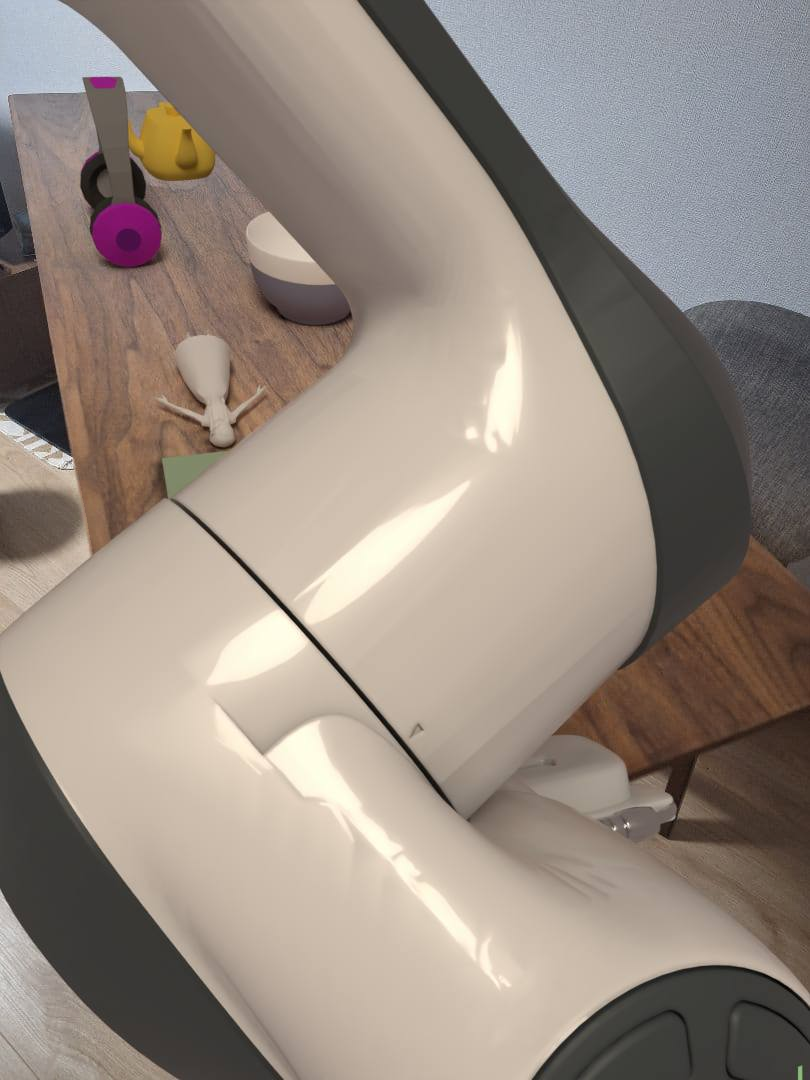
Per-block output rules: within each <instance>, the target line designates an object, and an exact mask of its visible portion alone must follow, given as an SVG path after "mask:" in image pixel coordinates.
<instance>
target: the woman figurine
mask: <svg viewBox="0 0 810 1080" xmlns="http://www.w3.org/2000/svg"><path fill="white" fill-rule="evenodd" d="M184 338H185V339H184V340H182V341H181V342H179V343H178V344H177V347H176V349H175V351H174V353H173V355H172V357H173V360H174V362H175V365H176V367H177V369H178V371H179V373H180V376H181V377H182V379H183V382H184V383H185V384H186V386H187V387H188V389H189V390H190V391H191V393H192V394H193V395H194V398H196V399H197V400H198V401H199V402H200V403H202V404H203V405H205V410H204V412H203V414H201V413H197V412H195V411H193V410H190V409H188V408H185V407H182V406H178V405H176V404H174V403H171V402H169V401H168V399H167V397H166V396H164V394H161V395H160V396H161V398H160V397H159V396H154V400H155V401H156V402H157V403H158V404H160V405H161V406H162V405H163V406H166V407H168V408H169V409H170V408H171V409H172V410H174V411H177V412H178V413H180V414H182V415H184V416H187V417H189V418H191V419H193V420H195V421H196V422H198V423H200V425H201V427H205V428H206V427H207V428H209V432H210V434H209V440H208V441H209V442H210V444H213V446H215V447H218V448H227V447H229V446H231V445H233V444H234V442H235V440H236V435H235V433H234V429H233V427H232V426H231V425H232V424H235V423H237V418H238V417H239V416H240V414H241V413H242V412H244V410H246V409H248V407H250V406H251V405H252V404H253V403H254V402H255V401H256V400H257V399H259V397H260V396H262V395H263V394H264V393H265V392H266V390H267V389H268V386H267V385H264V387H262V385H261V384H259V385H258V387H257V389H256V393H255V394H254V395H253V396H251V397H250V398H249V399H248V400H245V401H244V402H241V403H240V404H239V405H238V406H237V407H235V409H234V410H232V411H231V410H230V408H229V407H228V405H227V404H226V400H227V398H228V396H229V388H230V378H231V377H230V376H231V374H230V373H231V354H232V351H231V349H230V347H229V346H228V344H227V343H226V341H225V340H224V339H222V338H220V337H217V336H215V335H212V332H211V331H210V330H206V332H205V334H198V335H193V336H192V334H191V332H190V331H189V332H186V333H185V337H184ZM261 387H262V388H261Z"/></svg>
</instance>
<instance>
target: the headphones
mask: <svg viewBox="0 0 810 1080" xmlns="http://www.w3.org/2000/svg"><path fill="white" fill-rule="evenodd" d="M81 77H82V76H81ZM82 82H83V86H84V90H85V94H86V96H87V101H88V104H89V108H90V112H91V115H92V118H93V119H92V120H93V123H94V126H95V131H96V136H97V142H98V150H97V151H96V152H95V153H93V154H91V156H89V157H88V158H87V159H86V160H85V162H84V163H83V166H82V168H81V169H80V179H79V180H80V181H79V182H80V183H79V187H80V190H81V194H82V196H83V198H84V200H85V202H86V203H87V204H88V205H89V206H90V207H91V208H92V210H93V211H92V214H91V215H90V218H89V219H90V221H89V234H90V237H91V238H92V242H93V244H94V247H95V248H96V249H95V250H97V251H98V253H99V254H100V255H101V256H102V257H103V258H105V260H106V261H107V262H110V263H112V264H114V265H116V266H118V267H127V268H134V267H138V266H141V265H145V264H146V263H148V262H149V261H150V260H152V259H153V258H154V257H155V255H156V254H157V252H158V251H159V249H160V247H161V246H162V245H161V244H162V237H163V231H162V225H161V223H160V218H159V216H158V215H159V214H158V213H157V212H156V211H155V209H154V208H152V206H151V205H150V203H148V202H147V201H145V198H146V189H147V182H146V178H145V175H144V172H143V170H142V169H141V168H140V166H139V165H138V164H137V163H136V161H135V160H134V159H133V157H131V154H130V149H129V140H128V119H129V113H128V102H127V91H126V88H125V83H124V79H123V77H121V76H83V77H82Z"/></svg>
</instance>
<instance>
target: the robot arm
mask: <svg viewBox="0 0 810 1080" xmlns="http://www.w3.org/2000/svg"><path fill="white" fill-rule="evenodd" d="M57 1H59V2H60V3H61V4H64V5H66V6H67V7H69V8H70V9H72V10H73V11H74V12H76V13H77V14H79V15H80V16H82V18H84V19H85V20H87V21H88V22H89V23H91V24H92V25H93V26H94V27H96V29H98V30H99V31H100V32H101V33H102V34H103V35H105V36H106V37H107V38H108V39H109V40H110V41H111V42H112V43H113V44H114V45H115V46H116V47H117V48H118V49H119V50H120V51H121V52H122V53H123V54H124V55H125V57H127V58H128V59H129V61H130V62H131V63H132V64H133V65H134V66H135V67H136V68H137V69H138V71H140V72H141V74H142V75H143V76H144V77H145V78H146V80H148V82H150V83H151V84H152V86H153V87H154V88H155V89H156V90H157V91H158V92H159V93H160V94H161V95H162V96H163V98H164V99H165V100H166V101H167V103H168V102H169V103H170V104H171V105H172V106H173V107H174V108H175V109H176V111H177V112H178V113H179V114H180V115H181V116H182V117H183V118H184V119H185V120H186V121H187V123H188V124H189V125H190V126H191V127H192V128H193V129H194V130H195V131H196V132H197V133H198V135H199V136H200V137H201V138H202V139H203V140H204V141H205V142H206V143H207V144H208V145H209V147H210V148H211V149H212V150H213V151H214V152H215V153H216V155H217V156H218V158H219V159H220V160H221V161H222V162H223V163H224V165H226V166H227V167H228V169H229V170H230V171H231V172H232V173H233V174H234V175H235V176H236V177H237V178H238V180H240V182H241V183H242V184H243V185H244V187H246V188H247V189H248V190H249V191H250V193H252V195H253V196H254V197H255V198H256V199H257V200H258V201H259V202H260V203H261V205H262V206H263V207H264V208H265V209H266V210H267V212H270V213H271V214H272V215H273V216H274V217H275V219H276V220H277V221H278V222H279V223H280V224H281V225H282V226H283V227H284V228H285V229H286V231H287V232H288V233H289V234H290V235H291V236H292V237H293V238H294V239H295V240H296V241H297V243H298V244H299V245H300V246H301V247H302V248H303V249H304V250H305V251H306V252H307V253H308V255H309V256H310V257H311V258H312V259H313V260H314V261H315V262H316V263H317V264H318V265H319V267H320V268H321V269H322V270H323V271H324V272H325V273H326V274H327V275H328V276H329V277H330V279H331V280H332V281H333V282H334V283H335V284H336V285H337V286H338V287H339V289H340V290H341V291H342V292H343V294H344V295H345V297H346V298H347V301H348V303H349V306H350V309H351V310H350V313H351V319H352V321H351V322H352V333H351V336H350V337H351V338H350V341H349V343H348V346H347V348H346V350H345V352H344V353H343V354H342V356H341V357H340V358H339V360H338V361H336V362H335V364H334V365H333V366H331V367H330V368H329V369H328V370H327V371H326V372H325V373H324V374H322V375H321V376H320V377H319V378H317V379H316V380H315V381H313V382H312V383H311V384H310V385H308V386H307V387H306V388H305V389H303V390H302V391H301V392H300V393H299V394H298V395H296V396H295V397H293V398H292V399H291V400H290V401H289V402H288V403H287V404H285V405H283V407H281V408H280V409H279V410H278V411H276V412H275V413H274V414H273V415H271V416H270V417H269V418H268V419H267V420H265V421H264V422H263V423H262V424H260V425H259V426H257V428H255V429H254V430H253V431H252V432H250V433H249V434H248V435H246V436H245V437H244V438H243V439H242V440H241V441H239V442H238V443H237V444H235V446H233V447H232V448H230V449H229V450H227V451H228V452H227V453H226V454H225V455H223V456H222V457H221V458H220V459H218V460H217V461H216V462H215V463H213V464H212V465H211V466H210V467H208V468H207V469H206V470H205V471H203V472H202V473H201V474H200V475H199V476H197V477H196V478H195V479H194V480H192V481H191V482H190V483H189V484H187V485H186V486H185V487H184V488H182V489H181V490H180V491H179V492H177V493H176V494H175V495H174V496H172V497H171V498H170V500H169V499H168V497H164V498H162V499H161V500H160V501H159V502H157V503H156V504H155V505H153V506H152V507H151V508H150V509H149V510H147V511H146V512H145V513H144V514H142V515H141V516H140V517H139V518H137V519H136V520H135V521H134V522H132V523H131V524H130V525H128V526H127V527H126V528H125V529H123V530H122V531H121V532H119V533H118V534H117V535H116V536H114V537H113V538H112V539H110V540H109V541H108V542H107V543H106V544H104V545H103V546H102V547H101V548H99V549H98V550H97V551H96V552H94V554H92V555H91V556H90V557H88V558H87V559H86V560H85V561H83V563H82V564H80V565H79V566H78V567H77V568H75V569H74V570H73V571H72V572H70V574H68V575H67V576H66V577H65V578H63V579H62V580H61V581H60V582H59V583H57V585H55V586H54V587H53V588H52V589H50V590H49V591H47V593H45V594H44V595H43V596H42V597H41V598H39V599H38V600H37V601H36V602H35V603H33V604H32V605H31V606H30V607H29V608H28V609H26V610H25V611H24V612H23V613H22V614H21V615H20V616H18V617H17V618H16V619H15V620H14V621H13V622H12V623H11V624H9V625H8V626H7V627H6V628H5V629H4V630H3V631H2V632H0V891H1V894H2V896H3V897H4V900H5V901H6V904H7V906H9V909H10V910H11V912H12V914H13V915H14V916H15V918H16V920H17V921H18V923H19V924H20V926H21V927H22V929H23V930H24V932H25V933H26V935H27V936H28V937H29V939H30V940H31V942H32V943H33V945H34V946H35V947H36V948H37V950H38V951H39V952H40V953H41V955H42V956H43V957H44V958H45V960H46V962H48V963H49V965H50V966H51V967H52V969H54V971H55V972H56V973H57V974H58V975H59V977H60V979H62V981H63V982H64V983H66V985H67V986H68V987H69V988H70V990H72V992H73V993H74V994H75V995H76V997H78V999H80V1001H81V1002H82V1003H83V1004H84V1005H85V1006H86V1007H87V1008H88V1009H89V1010H90V1011H91V1012H92V1013H93V1014H94V1015H95V1016H96V1017H97V1018H98V1019H100V1020H101V1022H102V1023H104V1025H106V1026H107V1027H108V1028H109V1029H110V1030H111V1031H113V1032H114V1033H115V1034H116V1035H117V1036H118V1037H120V1038H121V1039H122V1040H123V1041H124V1042H126V1043H127V1044H128V1045H129V1046H130V1047H132V1048H133V1049H134V1050H135V1051H136V1052H138V1053H139V1054H141V1055H142V1056H143V1057H144V1058H145V1059H147V1060H149V1061H150V1062H152V1063H153V1064H155V1066H157V1067H158V1068H160V1069H162V1070H163V1071H165V1072H166V1073H167V1074H169V1075H171V1076H172V1077H174V1078H176V1079H177V1080H810V992H809V991H808V989H807V988H806V987H805V986H804V985H803V984H802V982H801V981H800V980H799V979H798V978H797V976H796V975H795V974H794V973H793V971H791V969H789V967H787V965H785V963H783V961H781V959H779V957H778V956H776V955H775V954H774V953H773V951H771V950H770V949H769V948H768V947H767V946H766V945H765V944H764V943H763V942H762V941H761V940H760V939H759V938H758V937H757V936H755V935H754V934H753V933H752V932H751V931H750V930H749V929H747V927H746V926H744V925H743V924H742V923H741V922H740V921H739V920H738V919H737V918H735V917H734V916H733V915H731V914H730V913H729V912H728V911H727V910H725V909H724V908H722V906H720V905H719V904H718V903H716V901H714V900H713V899H712V898H711V897H709V896H708V895H707V894H705V892H703V891H702V890H700V889H699V888H698V887H697V886H696V885H695V884H693V883H692V882H691V881H689V880H688V879H687V878H685V877H684V876H682V875H681V873H678V872H677V871H676V870H675V869H673V868H672V867H671V866H669V865H668V864H666V863H665V862H663V861H662V860H661V859H659V858H658V857H657V856H656V855H654V854H653V853H651V852H649V851H648V850H647V849H645V848H644V847H642V846H640V845H638V843H641V842H643V841H647V840H649V839H650V838H653V837H655V836H657V835H658V834H659V833H660V831H661V825H662V824H665V823H667V822H672V821H674V820H675V819H676V814H677V812H678V807H677V804H676V803H675V800H674V797H673V796H672V795H671V794H670V793H668V792H666V791H663V790H661V789H659V788H657V787H653V786H650V785H647V784H643V783H642V784H641V783H630V780H629V774H628V769H627V765H626V763H625V762H624V760H623V759H622V758H621V757H620V756H619V755H618V754H617V753H615V752H613V751H612V750H611V749H609V748H607V747H606V746H604V745H602V744H600V743H599V742H596V741H594V740H592V739H590V738H588V737H586V736H583V735H577V734H556V735H554V733H556V732H557V731H558V730H559V729H560V727H562V726H563V724H565V723H566V722H567V721H568V720H569V718H571V716H573V714H574V713H575V712H577V711H578V710H579V709H580V707H581V706H583V704H584V703H586V702H587V700H589V699H590V698H591V697H592V695H593V694H595V692H596V691H598V690H599V688H600V687H602V686H603V685H604V683H606V682H607V681H608V679H609V678H611V676H613V674H615V673H616V672H618V671H621V670H623V669H625V668H627V667H628V666H629V665H631V664H633V663H634V662H635V661H637V660H638V659H639V658H640V657H641V656H643V655H644V654H645V653H646V652H647V651H649V650H650V649H651V648H652V647H653V646H655V645H656V644H657V643H658V642H659V641H661V640H662V639H664V637H665V636H666V635H668V634H669V633H670V632H672V631H673V630H674V629H675V628H676V627H677V626H679V625H680V624H681V623H682V622H683V621H685V620H686V619H687V618H688V617H689V616H690V615H692V614H693V613H694V612H695V611H696V610H697V609H699V608H700V607H701V606H703V605H704V604H705V603H706V602H707V601H708V600H709V599H711V598H712V597H713V596H714V595H715V594H717V593H718V592H719V591H720V590H721V589H722V588H724V587H726V585H727V584H728V583H730V582H731V581H732V580H733V578H734V577H735V576H737V574H738V572H739V571H740V569H741V567H742V565H743V563H744V561H745V558H746V556H747V553H748V550H749V546H750V542H751V541H750V540H751V533H752V512H753V476H752V475H753V474H752V473H753V472H752V458H751V448H750V442H749V435H748V429H747V425H746V418H745V416H744V412H743V408H742V404H741V402H740V398H739V395H738V393H737V390H736V388H735V386H734V383H733V381H732V380H733V379H732V378H731V377H730V375H729V372H728V370H727V369H726V367H725V365H724V364H723V362H722V360H721V359H720V357H719V356H718V355H717V353H716V351H715V350H714V348H713V347H712V345H711V344H710V343H709V341H708V340H707V339H706V338H705V337H704V335H703V334H702V333H701V331H700V330H699V329H698V328H697V326H696V325H695V324H694V322H692V321H691V319H690V318H689V317H688V316H687V315H686V314H685V313H684V312H683V311H682V310H681V309H680V307H678V305H677V304H676V303H675V302H674V301H673V300H672V299H671V298H670V296H668V295H667V294H666V293H665V292H664V291H663V290H662V289H660V287H659V286H658V285H657V284H656V283H655V282H654V281H653V280H652V279H651V278H650V277H649V276H648V275H647V274H646V273H644V272H643V270H642V269H640V268H639V267H638V266H637V265H636V264H635V263H634V262H633V261H632V260H631V259H630V258H629V257H628V256H627V255H626V254H625V253H624V252H623V251H622V250H621V249H620V248H618V246H617V245H616V244H614V243H613V241H612V240H611V239H610V238H609V237H607V235H606V234H605V233H604V232H603V231H601V230H600V228H599V227H598V226H597V225H595V223H594V222H593V221H592V220H591V219H590V218H589V217H588V216H587V215H586V214H585V213H584V212H583V210H582V209H581V208H580V207H579V206H578V205H577V204H576V203H575V201H573V199H572V198H571V197H570V195H569V194H568V193H567V192H566V191H565V189H564V188H563V187H562V186H561V185H560V183H559V182H558V180H556V178H555V177H554V176H553V175H552V173H551V172H550V171H549V169H548V168H547V167H546V165H545V164H544V162H542V160H541V159H540V157H539V155H538V154H537V153H536V151H535V150H534V149H533V148H532V146H531V145H530V144H529V142H528V141H527V139H526V138H525V136H524V135H523V134H522V133H521V131H520V130H519V128H518V127H517V125H516V124H515V123H514V122H513V120H512V119H511V118H510V116H509V114H508V113H507V112H506V110H505V109H504V108H503V106H502V105H501V104H500V102H499V101H498V99H497V98H496V97H495V95H494V94H493V92H492V91H491V90H490V88H489V87H488V86H487V84H486V83H485V82H484V80H483V79H482V78H481V76H480V75H479V73H478V72H477V70H476V69H475V67H473V65H472V63H471V62H470V61H469V59H468V58H467V57H466V55H465V54H464V53H463V52H462V50H461V49H460V47H459V46H458V44H457V43H456V42H455V40H454V39H453V38H452V36H451V35H450V33H449V32H448V31H447V29H446V28H445V26H444V25H443V24H442V23H441V21H440V20H439V18H438V17H437V16H436V14H435V13H434V12H433V10H432V9H431V7H430V6H429V5H428V3H427V2H426V0H57Z"/></svg>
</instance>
